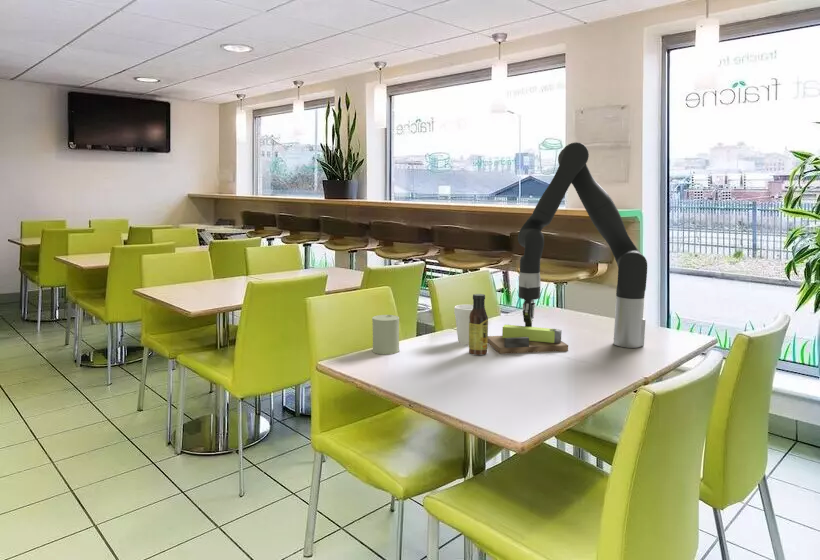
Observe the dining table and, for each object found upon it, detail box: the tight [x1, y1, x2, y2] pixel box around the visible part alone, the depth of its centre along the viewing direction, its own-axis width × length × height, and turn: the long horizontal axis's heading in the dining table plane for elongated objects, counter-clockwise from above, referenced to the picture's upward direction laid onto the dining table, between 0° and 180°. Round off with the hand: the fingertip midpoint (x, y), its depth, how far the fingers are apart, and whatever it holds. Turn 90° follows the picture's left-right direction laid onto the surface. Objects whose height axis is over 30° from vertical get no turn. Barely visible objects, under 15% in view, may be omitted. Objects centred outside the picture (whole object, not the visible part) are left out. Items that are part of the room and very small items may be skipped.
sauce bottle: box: [468, 293, 489, 356], centre depth 189 cm, size 7×6×20 cm
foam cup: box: [453, 304, 473, 346], centre depth 203 cm, size 10×9×13 cm
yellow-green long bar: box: [501, 324, 562, 343], centre depth 199 cm, size 20×4×4 cm, turn 68°
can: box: [371, 314, 400, 355], centre depth 193 cm, size 9×9×12 cm
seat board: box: [488, 335, 569, 355], centre depth 199 cm, size 24×16×5 cm, turn 99°
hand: (528, 332), depth 204 cm, fingers closed
